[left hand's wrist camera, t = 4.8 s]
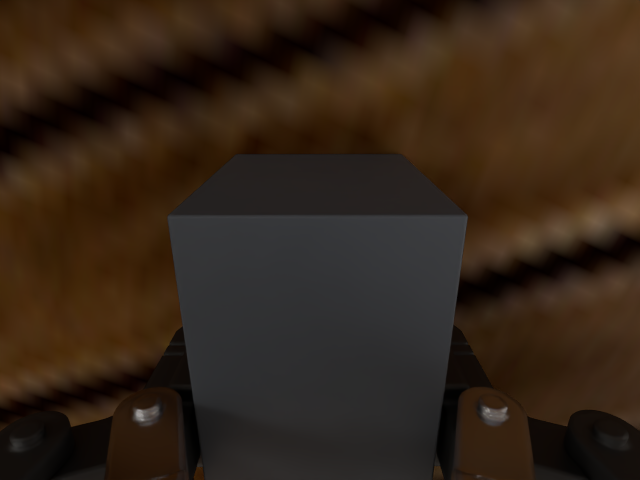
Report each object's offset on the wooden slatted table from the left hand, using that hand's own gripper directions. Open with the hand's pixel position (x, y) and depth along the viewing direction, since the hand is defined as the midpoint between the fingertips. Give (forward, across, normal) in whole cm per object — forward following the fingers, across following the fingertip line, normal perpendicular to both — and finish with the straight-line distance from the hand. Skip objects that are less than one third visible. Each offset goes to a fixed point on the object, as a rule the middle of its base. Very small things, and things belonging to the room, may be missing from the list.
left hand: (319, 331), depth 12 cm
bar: (+2, 0, -29) cm, 29 cm away
